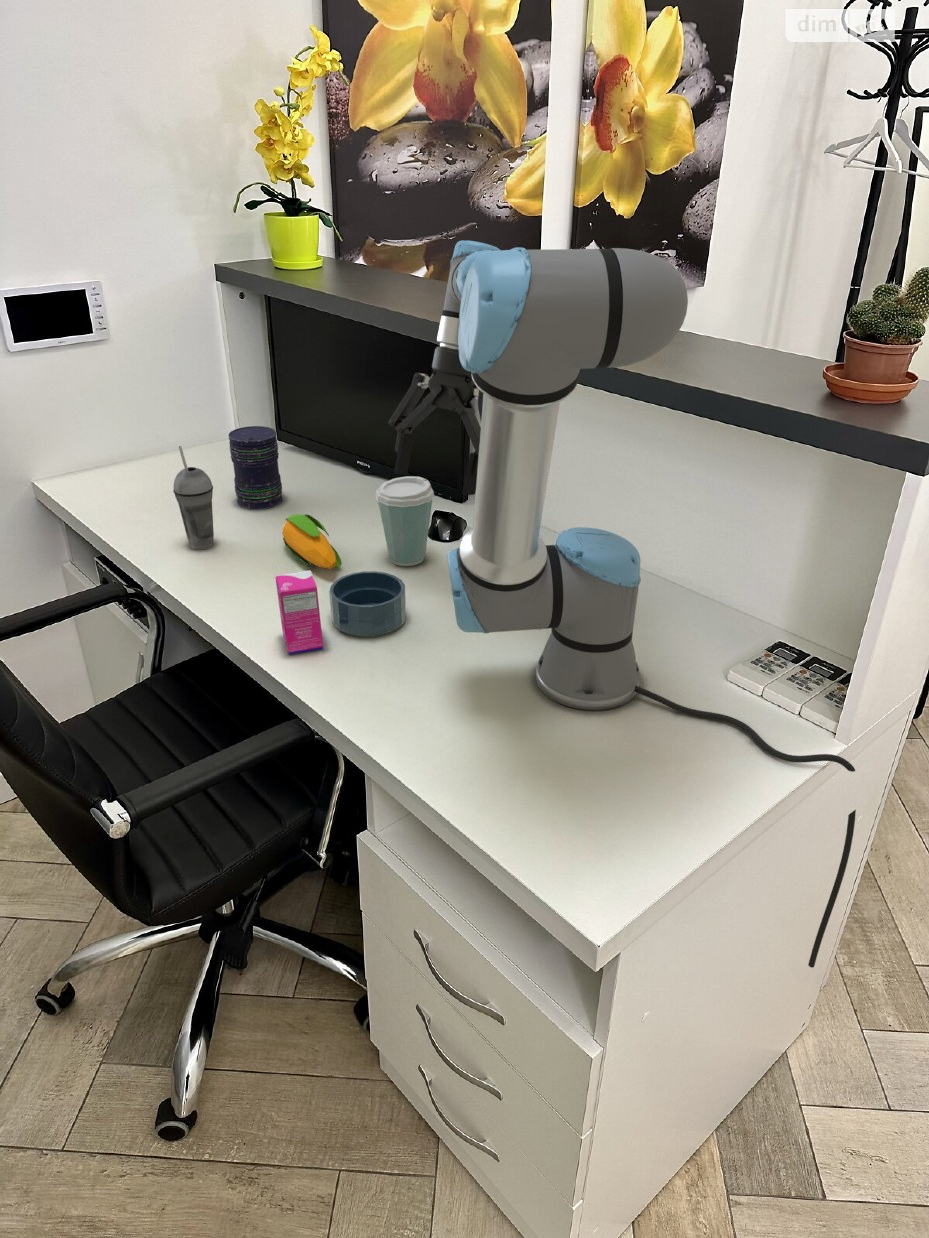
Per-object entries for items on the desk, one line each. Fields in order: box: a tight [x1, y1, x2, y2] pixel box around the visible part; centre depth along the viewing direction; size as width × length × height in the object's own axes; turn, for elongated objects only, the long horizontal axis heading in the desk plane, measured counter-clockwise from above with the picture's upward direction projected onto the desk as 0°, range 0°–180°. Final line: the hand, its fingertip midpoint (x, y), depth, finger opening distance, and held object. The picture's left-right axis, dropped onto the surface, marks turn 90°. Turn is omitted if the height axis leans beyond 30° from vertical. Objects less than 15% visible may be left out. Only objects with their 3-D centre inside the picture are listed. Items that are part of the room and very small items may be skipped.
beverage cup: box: [172, 445, 215, 551], centre depth 167 cm, size 7×7×20 cm
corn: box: [282, 513, 343, 570], centre depth 165 cm, size 7×8×20 cm
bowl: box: [328, 570, 407, 637], centre depth 146 cm, size 12×12×6 cm
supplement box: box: [274, 570, 325, 656], centre depth 138 cm, size 6×6×12 cm
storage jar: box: [228, 425, 284, 511], centre depth 188 cm, size 10×10×15 cm
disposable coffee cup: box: [375, 475, 435, 567], centre depth 164 cm, size 11×11×15 cm
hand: (433, 484), depth 144 cm, fingers open, 13 cm apart
